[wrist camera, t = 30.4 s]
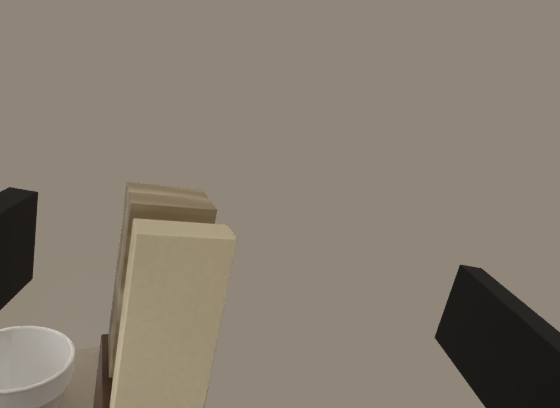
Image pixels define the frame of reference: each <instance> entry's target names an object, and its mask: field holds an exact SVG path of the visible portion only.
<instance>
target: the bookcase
mask: <svg viewBox="0 0 560 408" xmlns="http://www.w3.org/2000/svg"><path fill="white" fill-rule="evenodd" d="M216 213H217V209H216V208H215V206H214V205H213V203H212V202H211V201H210V199H209V198H208V197H207V195H206V194H205V192H204V191H203V190H200V189H190V188H180V187H170V186H160V185H150V184H140V183H130V182H127V183H126V192H125V201H124V209H123V217H122V225H121V234H120V242H119V251H118V260H117V268H116V276H115V284H114V293H113V302H112V310H111V318H110V327H109V334H103V335H102V336H101V344H100V353H99V361H98V370H97V379H96V388H95V396H94V405H93V408H110V399H111V391H112V383H113V375H114V367H115V359H116V351H117V343H118V335H119V327H120V319H121V311H122V303H123V295H124V288H125V280H126V272H127V264H128V256H129V248H130V240H131V232H132V224H133V219H134V218H137V219H151V220H166V221H180V222H194V223H209V224H215V219H216Z"/></svg>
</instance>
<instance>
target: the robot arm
mask: <svg viewBox="0 0 560 408" xmlns="http://www.w3.org/2000/svg"><path fill="white" fill-rule="evenodd" d="M37 200H38V192H34V191H28V190H23V189H17V188H10V187H9V188H7V189H6V190H3V191H1V192H0V310H1V309H2V308H3V307H4V306H5V305H6V304H7V303H8V302H9V301H10V300H11V299H12V298H13V297H14V296H15V295H16V294H17V293H18V292H19V291H20V290H21V289H22V288H23V287H24V286H25V285H26V284H27V283H29V282H30V281H31V279H32V278H33V262H34V246H35V231H36V216H37ZM435 338H436V340H437V341H438V343H439V344H440V345H441V347H442V348H443V350H444V351H445V352H446V354H447V355H448V357H449V358H450V359H451V361H452V362H453V363H454V365H455V366H456V367H457V369H458V370H459V372H460V373H461V374H462V376H463V377H464V379H465V380H466V381H467V383H468V384H469V385H470V387H471V388H472V390H473V391H474V392H475V394H476V395H477V396H478V398H479V399H480V401H481V402H482V403H483V405H484V406H485V407H486V408H560V332H559V331H557V330H556V329H555V328H554V327H552V326H551V325H550V324H549V323H547V322H546V321H545V320H544V319H543V318H541V317H540V316H539V315H538V314H537V313H535V312H534V311H533V310H532V309H530V308H529V307H528V306H527V305H526V304H524V303H523V302H522V301H521V300H519V299H518V298H517V297H516V296H514V295H513V294H512V293H511V292H510V291H508V290H507V289H506V288H505V287H504V286H502V285H501V284H500V283H499V282H498V281H496V280H495V279H494V278H493V277H491V276H490V275H489V274H488V273H487V272H485V271H484V270H483V269H481V268H476V267H471V266H465V265H460V266H459V269H458V272H457V275H456V278H455V281H454V283H453V286H452V289H451V292H450V295H449V298H448V301H447V303H446V306H445V309H444V312H443V315H442V318H441V321H440V323H439V326H438V329H437V332H436V335H435Z"/></svg>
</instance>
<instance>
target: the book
mask: <svg viewBox="0 0 560 408" xmlns="http://www.w3.org/2000/svg"><path fill="white" fill-rule="evenodd" d="M236 243H237V238H236V237H235V235H234V234H233V233H232V231H231V230H230V228H229V227H228V225H223V224H209V223H194V222H180V221H166V220H151V219H137V218H134V219H133V224H132V232H131V240H130V248H129V256H128V264H127V272H126V280H125V288H124V295H123V303H122V311H121V319H120V327H119V335H118V343H117V351H116V359H115V367H114V375H113V383H112V391H111V399H110V408H204V407H205V402H206V397H207V392H208V387H209V381H210V376H211V371H212V366H213V361H214V356H215V351H216V345H217V341H218V335H219V330H220V325H221V320H222V315H223V310H224V305H225V299H226V294H227V289H228V284H229V279H230V273H231V269H232V264H233V259H234V253H235V248H236Z"/></svg>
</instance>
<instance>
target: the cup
mask: <svg viewBox="0 0 560 408" xmlns="http://www.w3.org/2000/svg"><path fill="white" fill-rule="evenodd" d="M74 357H75V348H74V345H73V343H72V342H71V340H70V339H69V338H68V337H67V336H65V335H64V334H63V333H61V332H58V331H56V330H53V329H50V328H45V327H40V326H16V327H9V328H4V329H0V408H58V407H59V404H60V401H61V399H62V396H63V394H64V391H65V389H66V388H67V387H68V385H69V384H70V383H71V380H72V377H73V374H74Z"/></svg>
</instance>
